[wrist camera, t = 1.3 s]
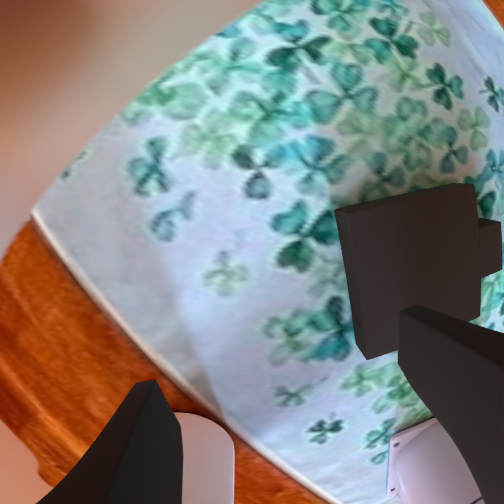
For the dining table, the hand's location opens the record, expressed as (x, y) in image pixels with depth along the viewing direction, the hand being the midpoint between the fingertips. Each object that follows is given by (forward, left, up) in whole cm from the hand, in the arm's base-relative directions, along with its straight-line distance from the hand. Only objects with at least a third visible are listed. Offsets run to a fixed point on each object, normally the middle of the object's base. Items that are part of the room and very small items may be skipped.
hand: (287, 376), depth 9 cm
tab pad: (-1, -8, -9) cm, 12 cm away
